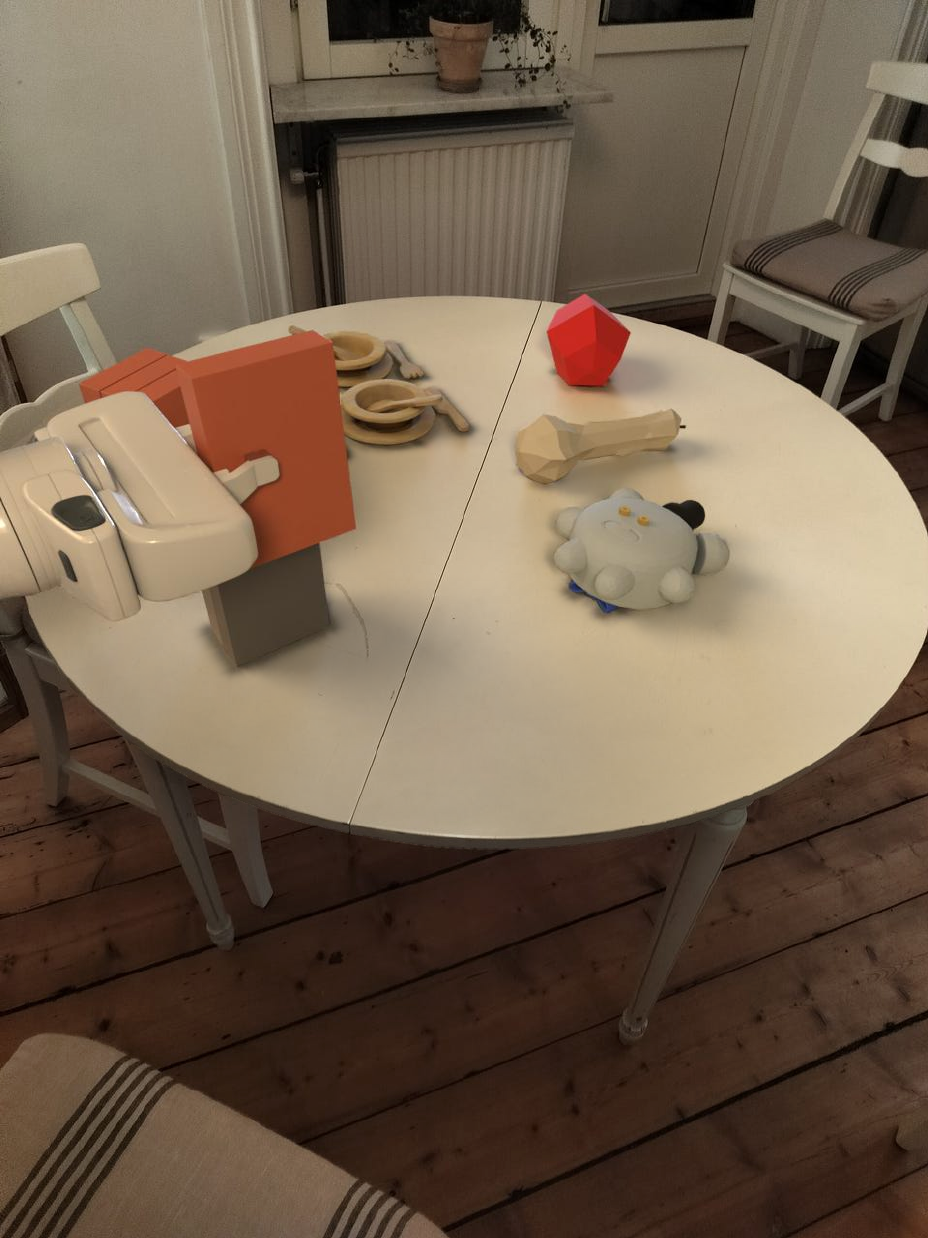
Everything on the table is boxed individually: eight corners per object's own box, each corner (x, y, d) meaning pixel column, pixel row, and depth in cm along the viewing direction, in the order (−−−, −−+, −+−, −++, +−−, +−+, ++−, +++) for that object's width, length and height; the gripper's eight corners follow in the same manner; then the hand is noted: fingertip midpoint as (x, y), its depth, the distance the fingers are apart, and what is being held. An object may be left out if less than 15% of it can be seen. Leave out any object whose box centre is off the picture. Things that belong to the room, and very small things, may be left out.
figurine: (639, 655, 81) (746, 583, 93) (661, 585, 76) (771, 518, 87) (512, 570, 90) (624, 514, 102) (523, 502, 85) (640, 451, 96)
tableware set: (472, 432, 111) (473, 391, 107) (331, 462, 105) (327, 421, 101) (392, 340, 131) (391, 303, 127) (270, 361, 125) (264, 323, 121)
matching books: (175, 524, 95) (144, 406, 85) (115, 500, 98) (78, 383, 88) (233, 482, 101) (210, 367, 91) (175, 460, 105) (147, 347, 94)
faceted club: (495, 456, 106) (657, 425, 114) (524, 506, 102) (688, 470, 111) (511, 403, 98) (682, 375, 107) (542, 455, 94) (717, 422, 103)
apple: (541, 400, 121) (533, 335, 129) (623, 405, 122) (610, 340, 130) (557, 331, 111) (547, 265, 119) (645, 337, 112) (630, 271, 121)
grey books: (236, 667, 79) (203, 523, 68) (211, 630, 83) (175, 488, 71) (329, 626, 84) (313, 485, 72) (302, 593, 87) (281, 453, 75)
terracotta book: (238, 573, 61) (191, 378, 52) (222, 555, 63) (174, 364, 54) (356, 528, 66) (333, 341, 56) (338, 512, 68) (312, 329, 58)
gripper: (31, 476, 61) (210, 424, 67) (125, 639, 49) (332, 558, 55) (0, 398, 57) (194, 350, 63) (95, 556, 45) (324, 477, 51)
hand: (260, 448), depth 59 cm, fingers closed on terracotta book, 3 cm apart
